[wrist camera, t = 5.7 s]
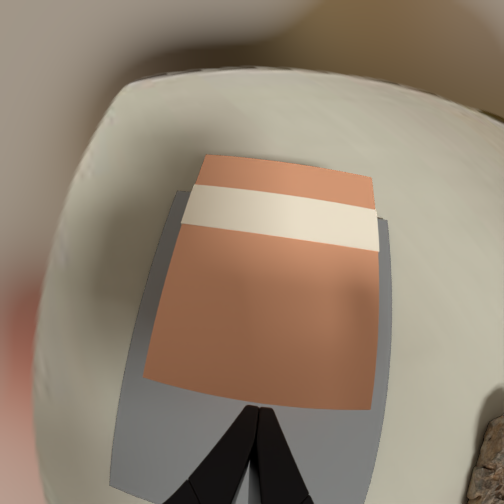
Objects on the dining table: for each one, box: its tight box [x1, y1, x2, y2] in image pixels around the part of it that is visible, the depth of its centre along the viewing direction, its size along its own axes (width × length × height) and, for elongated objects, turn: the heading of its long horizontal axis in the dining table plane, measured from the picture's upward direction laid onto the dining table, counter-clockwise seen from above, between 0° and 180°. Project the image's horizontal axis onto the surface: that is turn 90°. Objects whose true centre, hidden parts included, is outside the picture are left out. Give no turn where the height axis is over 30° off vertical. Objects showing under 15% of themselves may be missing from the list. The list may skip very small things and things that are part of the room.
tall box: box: [143, 154, 379, 410], centre depth 14 cm, size 5×10×12 cm
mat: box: [109, 191, 392, 504], centre depth 15 cm, size 22×16×1 cm
